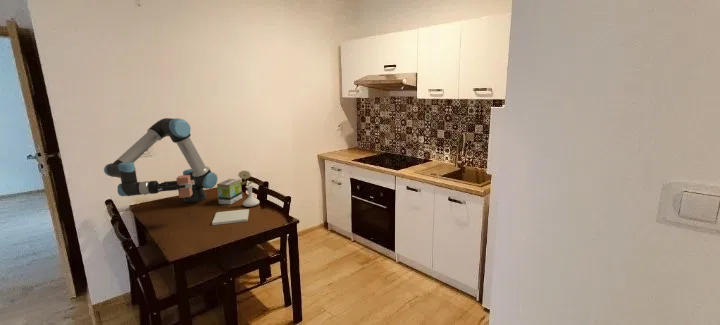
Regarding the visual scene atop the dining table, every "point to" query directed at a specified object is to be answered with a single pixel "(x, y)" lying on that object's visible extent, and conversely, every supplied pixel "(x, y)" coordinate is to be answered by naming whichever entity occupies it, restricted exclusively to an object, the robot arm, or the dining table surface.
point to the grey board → (231, 217)
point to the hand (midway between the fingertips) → (192, 183)
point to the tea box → (229, 191)
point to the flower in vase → (250, 200)
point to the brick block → (185, 191)
